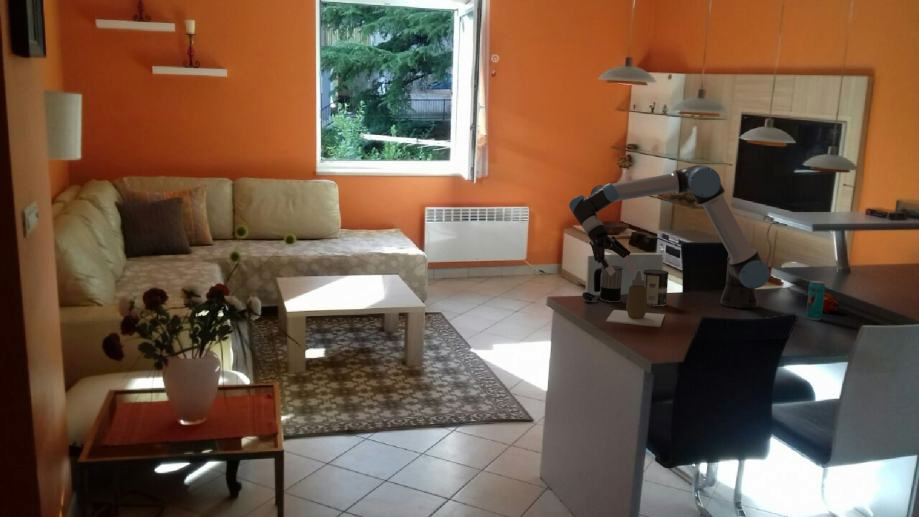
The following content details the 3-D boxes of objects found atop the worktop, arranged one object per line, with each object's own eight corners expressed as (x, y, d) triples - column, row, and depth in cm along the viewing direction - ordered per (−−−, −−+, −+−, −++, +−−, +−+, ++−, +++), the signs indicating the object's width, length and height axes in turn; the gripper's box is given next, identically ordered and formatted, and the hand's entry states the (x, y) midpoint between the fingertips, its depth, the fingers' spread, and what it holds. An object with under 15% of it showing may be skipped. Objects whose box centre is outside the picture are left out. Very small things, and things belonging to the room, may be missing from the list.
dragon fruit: (814, 311, 342) (835, 321, 331) (803, 300, 338) (824, 311, 327) (826, 295, 341) (848, 305, 331) (816, 284, 338) (837, 294, 327)
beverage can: (802, 317, 321) (806, 280, 319) (814, 316, 324) (817, 280, 321) (813, 321, 316) (817, 283, 314) (825, 320, 318) (828, 282, 316)
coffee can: (663, 302, 346) (665, 269, 344) (669, 307, 336) (671, 273, 334) (639, 301, 346) (641, 268, 344) (644, 306, 336) (646, 273, 334)
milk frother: (624, 300, 347) (626, 266, 344) (609, 306, 334) (610, 271, 332) (594, 296, 355) (596, 263, 353) (578, 302, 342) (579, 267, 340)
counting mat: (664, 315, 319) (664, 314, 319) (660, 327, 301) (660, 325, 301) (613, 311, 326) (613, 309, 326) (606, 321, 307) (606, 320, 307)
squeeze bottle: (647, 315, 316) (650, 270, 313) (646, 320, 308) (649, 273, 305) (626, 314, 318) (628, 269, 315) (624, 318, 310) (627, 272, 307)
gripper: (609, 233, 334) (637, 274, 325) (569, 237, 318) (597, 281, 309) (620, 221, 329) (648, 263, 321) (580, 225, 313) (609, 269, 304)
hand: (623, 272), depth 315 cm, fingers open, 13 cm apart
